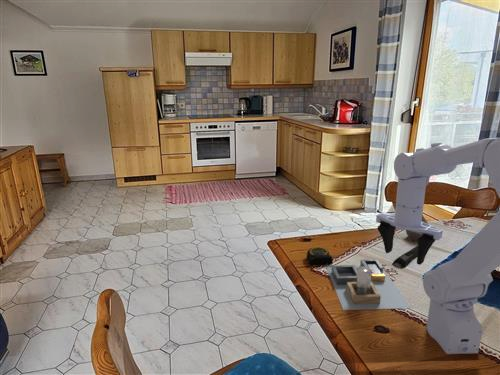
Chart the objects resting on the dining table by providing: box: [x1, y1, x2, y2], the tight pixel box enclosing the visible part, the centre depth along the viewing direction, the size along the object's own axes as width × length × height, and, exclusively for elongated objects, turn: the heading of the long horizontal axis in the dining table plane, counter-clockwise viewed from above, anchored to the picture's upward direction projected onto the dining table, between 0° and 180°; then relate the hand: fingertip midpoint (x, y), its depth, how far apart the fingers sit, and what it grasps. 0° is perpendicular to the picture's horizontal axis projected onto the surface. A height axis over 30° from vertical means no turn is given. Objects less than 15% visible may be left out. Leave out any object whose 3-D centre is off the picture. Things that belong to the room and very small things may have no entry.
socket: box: [331, 258, 384, 285], centre depth 89 cm, size 9×13×2 cm
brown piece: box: [347, 281, 381, 304], centre depth 80 cm, size 6×6×2 cm
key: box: [367, 264, 385, 282], centre depth 88 cm, size 6×3×2 cm, turn 179°
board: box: [325, 265, 412, 311], centre depth 85 cm, size 19×16×1 cm
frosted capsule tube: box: [356, 267, 372, 295], centre depth 79 cm, size 3×3×7 cm
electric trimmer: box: [392, 244, 418, 269], centre depth 97 cm, size 4×15×3 cm, turn 130°
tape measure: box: [306, 247, 334, 267], centre depth 97 cm, size 7×7×4 cm
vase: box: [405, 214, 429, 242], centre depth 109 cm, size 7×7×9 cm
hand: (403, 257), depth 79 cm, fingers open, 7 cm apart
